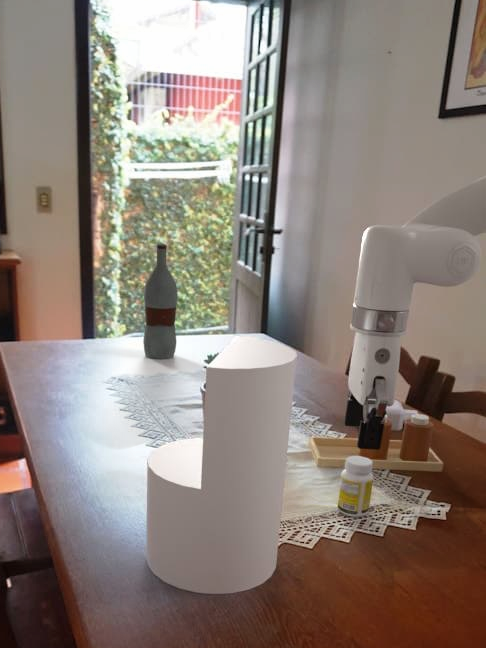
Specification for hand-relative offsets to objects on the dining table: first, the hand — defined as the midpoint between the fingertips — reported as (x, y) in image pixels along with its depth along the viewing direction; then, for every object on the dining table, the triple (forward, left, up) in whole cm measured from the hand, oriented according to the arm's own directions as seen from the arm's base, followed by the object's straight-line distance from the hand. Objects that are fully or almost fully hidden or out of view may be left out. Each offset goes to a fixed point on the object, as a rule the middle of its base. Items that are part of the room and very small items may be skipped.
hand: (361, 436), depth 101 cm
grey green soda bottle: (+36, -95, -13) cm, 102 cm away
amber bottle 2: (-16, -22, -12) cm, 30 cm away
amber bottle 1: (-8, -22, -12) cm, 26 cm away
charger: (-16, -42, -13) cm, 47 cm away
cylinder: (+22, +16, -13) cm, 30 cm away
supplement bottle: (0, 0, -13) cm, 13 cm away
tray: (-8, -22, -12) cm, 27 cm away
